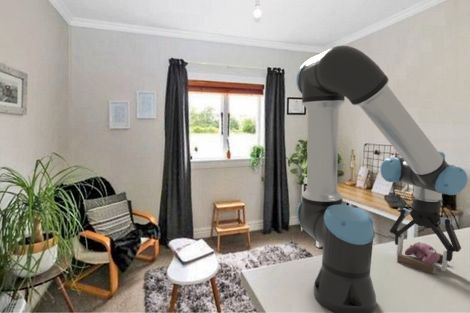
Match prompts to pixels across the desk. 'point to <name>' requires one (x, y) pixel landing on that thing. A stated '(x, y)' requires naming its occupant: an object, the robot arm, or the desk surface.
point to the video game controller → (423, 252)
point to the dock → (418, 263)
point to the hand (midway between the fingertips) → (420, 261)
